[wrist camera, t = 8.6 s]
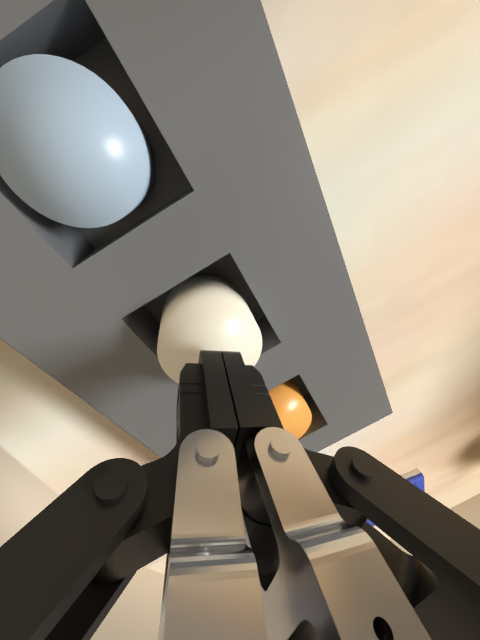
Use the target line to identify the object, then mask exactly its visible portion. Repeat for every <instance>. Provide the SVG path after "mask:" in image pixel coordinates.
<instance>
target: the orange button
mask: <svg viewBox="0 0 480 640" xmlns="http://www.w3.org/2000/svg"><path fill="white" fill-rule="evenodd" d="M268 392H269V395H270V396H271V399H272V401H273V404H274V406H275V409H276V411H277V413H278V416H279V418H280V421H281V423H282V426H283V428H284V430H287V431H288V432H290V433H291V434H293V435H294V436H295V437H296V438H297V439H299V438H300V437H301V436H302V435H303V434H304V433H305V432H306V431H307V430H308V428H309V426H310V424H311V420H312V414H311V411H310V409H309V407H308V405H307V403H306V401H305V400H304V398H303V396H302V394H301V392H300V391H299V389H298V387H297V385H296V383H295V382H294V380H293V378H291V379H290V380H288V381H286V382H284V383H282V384H281V385H279V386H277V387H275V388H273V389H272V390H270V391H268Z"/></svg>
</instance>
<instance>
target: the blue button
mask: <svg viewBox="0 0 480 640" xmlns="http://www.w3.org/2000/svg"><path fill="white" fill-rule="evenodd" d="M0 175H1V177H2V178H3V179H4V181H5V182H6V183H7V185H8V186H9V187H10V188H11V189H12V191H13V192H14V193H15V194H16V195H17V196H18V197H19V198H20V199H21V200H23V201H24V202H25V203H26V204H27V205H29V206H30V207H31V208H33V209H34V210H36V211H37V212H39V213H40V214H42V215H44V216H46V217H48V218H49V219H51V220H54V221H56V222H59V223H62V224H65V225H68V226H73V227H79V228H98V227H102V226H107V225H109V224H112V223H114V222H116V221H118V220H120V219H122V218H123V217H125V216H126V215H127V214H129V213H130V212H132V211H133V210H135V209H136V208H137V207H139V206H140V205H141V204H142V203H143V202H144V201H145V199H146V198H147V197H148V195H149V193H150V191H151V189H152V186H153V182H154V177H155V160H154V154H153V150H152V147H151V144H150V141H149V139H148V136H147V134H146V133H145V131H144V129H143V127H142V126H141V124H140V123H139V121H138V120H137V119H136V118H135V116H134V115H133V114H132V112H131V111H130V110H129V108H128V107H127V106H126V105H125V103H124V102H123V101H122V100H121V98H120V97H119V96H118V95H117V94H116V92H115V91H114V90H113V89H112V88H111V87H110V86H109V85H108V84H107V83H106V82H105V81H103V80H102V79H101V78H100V77H98V76H97V75H96V74H95V73H93V72H92V71H90V70H88V69H87V68H85V67H84V66H82V65H80V64H77V63H75V62H73V61H71V60H68V59H65V58H62V57H59V56H53V55H48V54H32V55H25V56H21V57H19V58H16V59H13V60H11V61H10V62H8V63H6V64H4V65H3V66H2V67H1V68H0Z"/></svg>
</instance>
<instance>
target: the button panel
mask: <svg viewBox="0 0 480 640" xmlns="http://www.w3.org/2000/svg"><path fill="white" fill-rule="evenodd" d="M32 54H48V55H53V56H59V57H62V58H65V59H68V60H71V61H73V62H75V63H77V64H80V65H82V66H84V67H85V68H87V69H88V70H90V71H92V72H93V73H95V74H96V75H97V76H98V77H100V78H101V79H102V80H103V81H105V82H106V83H107V84H108V85H109V86H110V87H111V88H112V89H113V90H114V91H115V92H116V94H117V95H118V96H119V97H120V98H121V100H122V101H123V102H124V103H125V105H126V106H127V107H128V108H129V110H130V111H131V112H132V114H133V115H134V116H135V118H136V119H137V120H138V121H139V123H140V124H141V126H142V127H143V129H144V131H145V133H146V134H147V136H148V139H149V141H150V144H151V147H152V150H153V154H154V160H155V177H154V182H153V186H152V189H151V191H150V193H149V195H148V197H147V198H146V199H145V201H144V202H143V203H142V204H141V205H140V206H139V207H137V208H136V209H135V210H133V211H132V212H130V213H129V214H127V215H126V216H125V217H123V218H122V219H120V220H118V221H116V222H114V223H112V224H109V225H107V226H102V227H98V228H79V227H73V226H68V225H65V224H62V223H59V222H56V221H54V220H51V219H49V218H48V217H46V216H44V215H42V214H40V213H39V212H37V211H36V210H34V209H33V208H31V207H30V206H29V205H27V204H26V203H25V202H24V201H23V200H21V199H20V198H19V197H18V196H17V195H16V194H15V193H14V192H13V191H12V189H11V188H10V187H9V186H8V185H7V183H6V182H5V181H4V179H3V178H2V177H1V175H0V339H2V340H3V341H4V342H6V343H7V344H8V345H10V346H11V347H12V348H14V349H15V350H16V351H18V352H19V353H21V354H22V355H23V356H25V357H26V358H27V359H29V360H30V361H31V362H33V363H34V364H35V365H37V366H38V367H39V368H41V369H42V370H43V371H45V372H46V373H48V374H49V375H50V376H52V377H53V378H54V379H56V380H57V381H58V382H60V383H61V384H62V385H64V386H65V387H66V388H68V389H69V390H71V391H72V392H73V393H75V394H76V395H77V396H79V397H80V398H81V399H83V400H84V401H85V402H87V403H88V404H89V405H91V406H92V407H93V408H95V409H96V410H98V411H99V412H100V413H102V414H103V415H104V416H106V417H107V418H108V419H110V420H111V421H112V422H114V423H115V424H116V425H118V426H119V427H120V428H122V429H123V430H125V431H126V432H127V433H129V434H130V435H131V436H133V437H134V438H135V439H137V440H138V441H139V442H141V443H142V444H143V445H145V446H146V447H148V448H149V449H150V450H152V451H153V452H154V453H156V454H157V455H158V456H160V457H161V458H162V457H164V456H165V455H167V454H168V453H169V452H170V451H171V450H172V449H173V448H174V447H175V445H176V406H177V395H178V387H179V383H177V382H175V381H174V380H172V379H171V378H170V377H169V376H168V375H167V374H166V373H165V372H164V370H163V369H162V367H161V365H160V363H159V360H158V356H157V343H158V336H159V329H160V322H161V315H162V308H163V304H164V301H165V299H166V297H167V296H168V294H169V293H170V291H171V290H172V289H173V288H174V287H175V286H176V285H178V284H179V283H181V282H182V281H184V280H186V279H188V278H191V277H195V276H201V275H211V276H217V277H220V278H223V279H225V280H227V281H229V282H231V283H232V284H233V285H234V286H236V287H237V289H238V290H239V291H240V292H241V294H242V296H243V298H244V299H245V301H246V303H247V305H248V307H249V309H250V311H251V313H252V315H253V317H254V319H255V321H256V323H257V325H258V327H259V329H260V332H261V335H262V351H261V354H260V357H259V359H258V361H257V363H256V365H255V366H254V367H255V368H256V369H257V370H258V371H259V372H260V373H261V375H262V377H263V380H264V382H265V386H266V387H267V389H268V391H270V390H272V389H273V388H275V387H277V386H279V385H281V384H282V383H284V382H286V381H288V380H290V379H291V378H293V380H294V382H295V383H296V385H297V387H298V389H299V391H300V392H301V394H302V396H303V398H304V400H305V401H306V403H307V405H308V407H309V409H310V411H311V414H312V420H311V424H310V426H309V428H308V430H307V431H306V432H305V433H304V434H303V435H302V436H301V437H300V438H299V439H298V440H299V441H300V443H301V444H302V446H303V448H305V449H307V450H310V451H313V452H318V451H320V450H322V449H324V448H326V447H328V446H330V445H332V444H334V443H336V442H338V441H339V440H341V439H343V438H345V437H347V436H349V435H351V434H353V433H355V432H357V431H359V430H361V429H363V428H365V427H366V426H368V425H370V424H372V423H374V422H376V421H378V420H380V419H382V418H384V417H386V416H388V415H390V414H391V413H393V412H392V409H391V406H390V403H389V400H388V397H387V394H386V391H385V387H384V384H383V381H382V378H381V375H380V372H379V369H378V366H377V363H376V359H375V356H374V353H373V350H372V347H371V344H370V341H369V338H368V334H367V331H366V328H365V325H364V322H363V319H362V316H361V313H360V309H359V306H358V303H357V300H356V297H355V294H354V291H353V288H352V285H351V281H350V278H349V275H348V272H347V269H346V266H345V263H344V260H343V256H342V253H341V250H340V247H339V244H338V241H337V238H336V235H335V231H334V228H333V225H332V222H331V219H330V216H329V213H328V210H327V206H326V203H325V200H324V197H323V194H322V191H321V188H320V185H319V182H318V178H317V175H316V172H315V169H314V166H313V163H312V160H311V157H310V153H309V150H308V147H307V144H306V141H305V138H304V135H303V132H302V128H301V125H300V122H299V119H298V116H297V113H296V110H295V107H294V104H293V100H292V97H291V94H290V91H289V88H288V85H287V82H286V79H285V75H284V72H283V69H282V66H281V63H280V60H279V57H278V54H277V50H276V47H275V44H274V41H273V38H272V35H271V32H270V29H269V26H268V22H267V19H266V16H265V13H264V10H263V7H262V4H261V1H260V0H0V68H1V67H2V66H3V65H4V64H6V63H8V62H10V61H11V60H13V59H16V58H19V57H21V56H25V55H32Z"/></svg>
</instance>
